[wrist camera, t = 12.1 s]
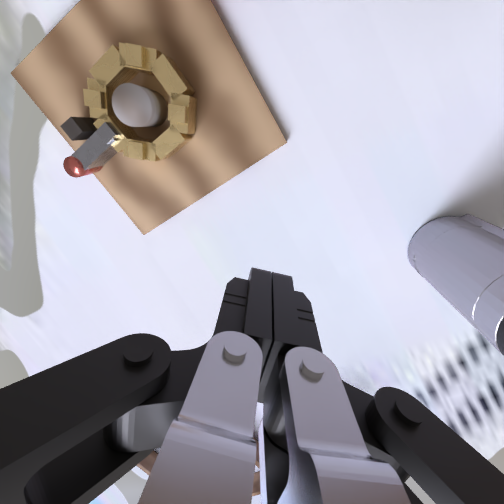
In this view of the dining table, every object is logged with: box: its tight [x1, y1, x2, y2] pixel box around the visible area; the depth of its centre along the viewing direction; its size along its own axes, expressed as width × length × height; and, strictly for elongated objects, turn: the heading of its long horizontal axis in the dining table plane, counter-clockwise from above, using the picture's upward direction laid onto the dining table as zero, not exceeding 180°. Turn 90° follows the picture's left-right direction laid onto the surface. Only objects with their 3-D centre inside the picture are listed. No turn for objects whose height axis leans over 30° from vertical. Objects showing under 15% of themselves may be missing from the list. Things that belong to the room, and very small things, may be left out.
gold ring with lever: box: [63, 42, 197, 177], centre depth 32 cm, size 11×18×5 cm, turn 126°
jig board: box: [11, 0, 287, 235], centre depth 31 cm, size 24×24×6 cm
